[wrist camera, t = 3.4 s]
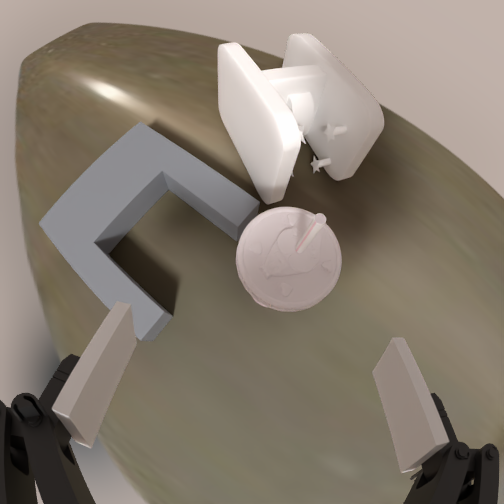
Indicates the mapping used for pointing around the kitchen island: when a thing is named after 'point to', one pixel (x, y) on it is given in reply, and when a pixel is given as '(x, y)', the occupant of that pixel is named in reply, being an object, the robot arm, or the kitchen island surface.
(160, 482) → the kitchen island surface
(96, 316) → the kitchen island surface
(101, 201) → the notched board
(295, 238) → the smoothie
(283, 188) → the cable organizer
